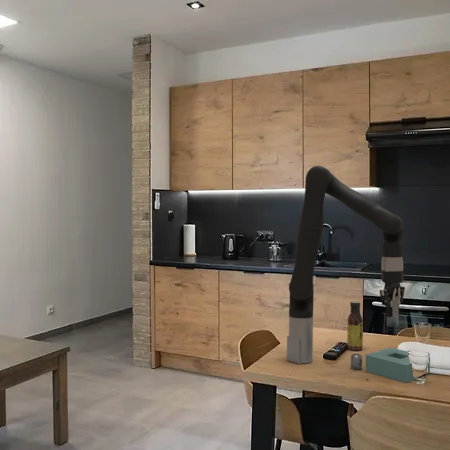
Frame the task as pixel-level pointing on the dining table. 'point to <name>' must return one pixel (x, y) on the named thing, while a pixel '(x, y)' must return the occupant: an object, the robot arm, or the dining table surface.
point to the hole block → (391, 364)
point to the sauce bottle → (355, 328)
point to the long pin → (394, 319)
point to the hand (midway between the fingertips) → (392, 315)
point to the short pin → (356, 361)
